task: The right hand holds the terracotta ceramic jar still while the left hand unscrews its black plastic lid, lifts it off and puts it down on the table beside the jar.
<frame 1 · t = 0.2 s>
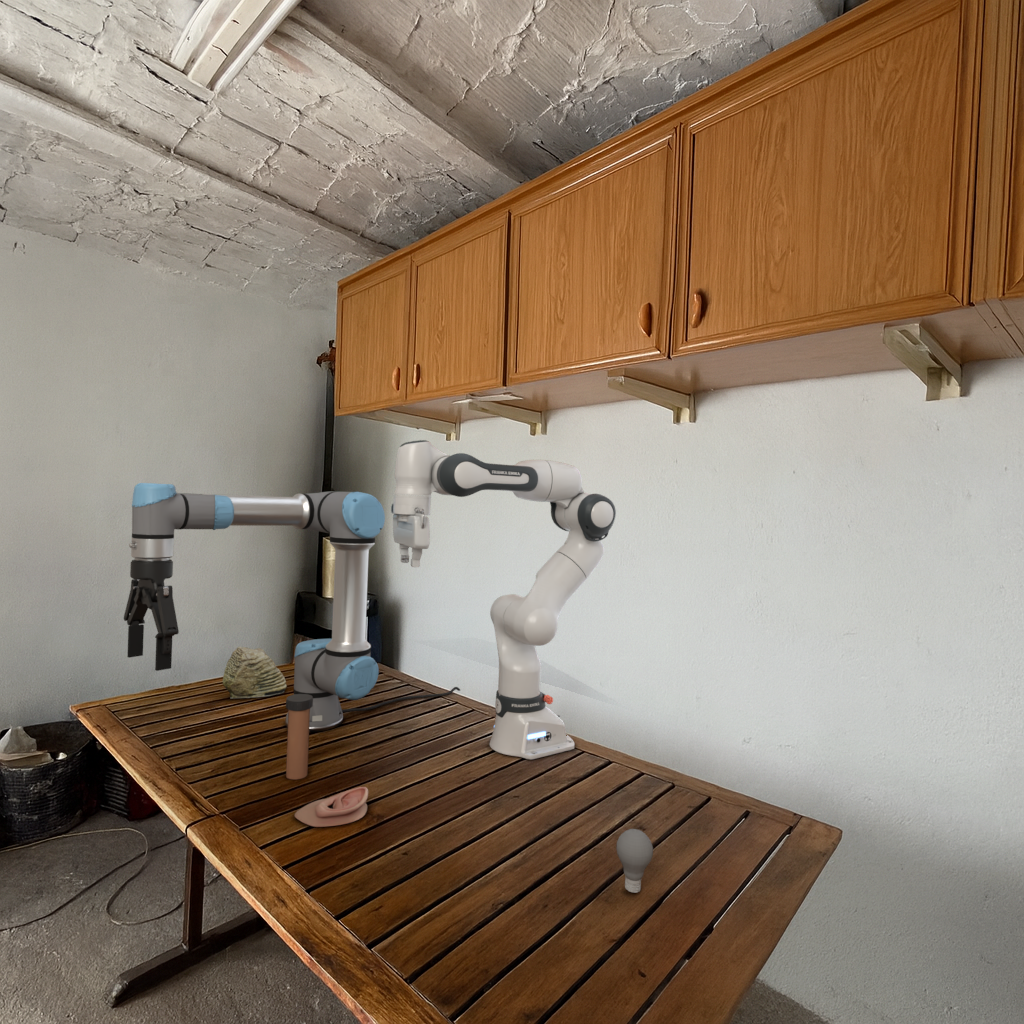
left hand: (148, 662, 129), 28 cm above the table, tool pointing down, fingers open, 13 cm apart
right hand: (409, 564, 153), 48 cm above the table, tool pointing down, fingers open, 8 cm apart
anatomical model: (331, 814, 127), on the table
jar: (296, 775, 144), on the table
fossil: (254, 694, 198), on the table
lid: (299, 699, 143), point 17 cm above the table, screwed on, not yet turned
light bulb: (632, 891, 106), on the table
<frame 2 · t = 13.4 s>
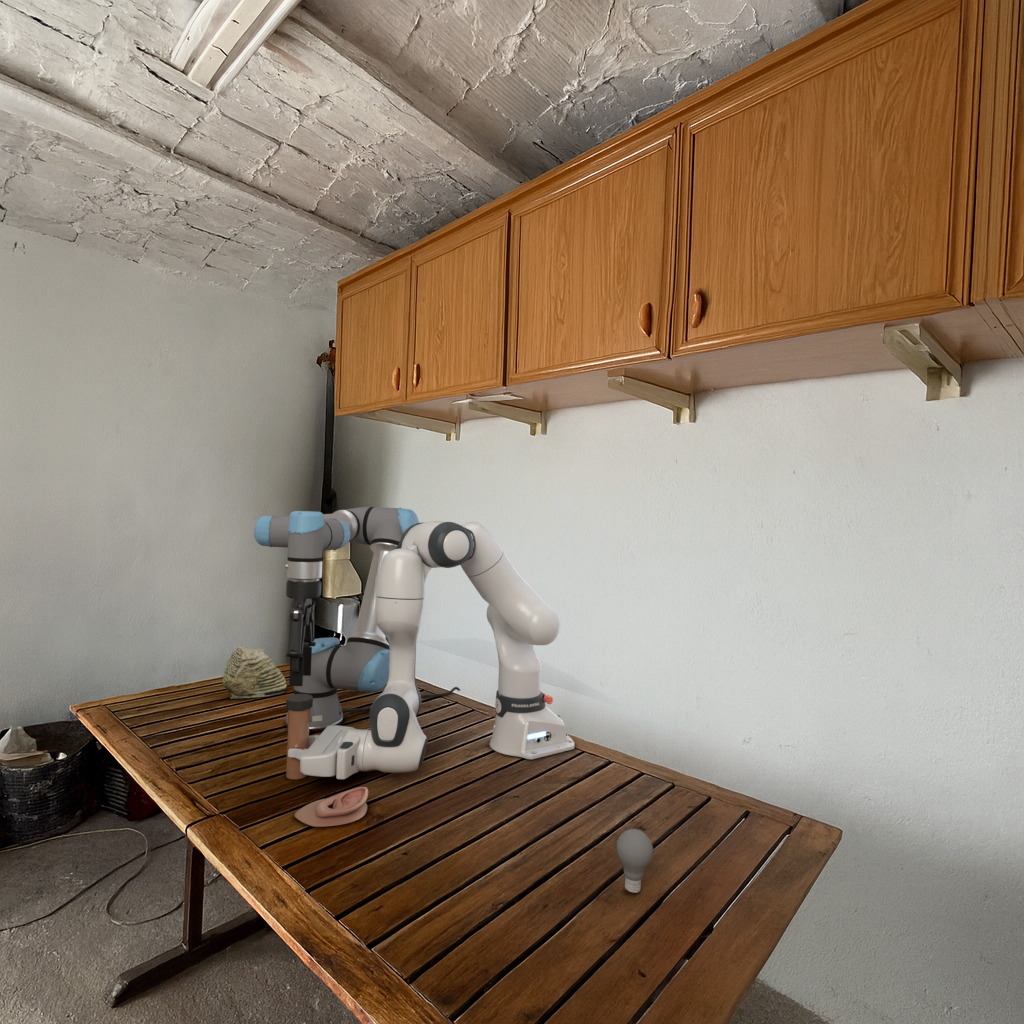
left hand: (300, 680, 143), 22 cm above the table, tool pointing down, fingers open, 7 cm apart
right hand: (293, 746, 143), 6 cm above the table, tool horizontal, fingers closed on jar, 5 cm apart
jar: (296, 774, 144), on the table, touching right hand
everything else where it was.
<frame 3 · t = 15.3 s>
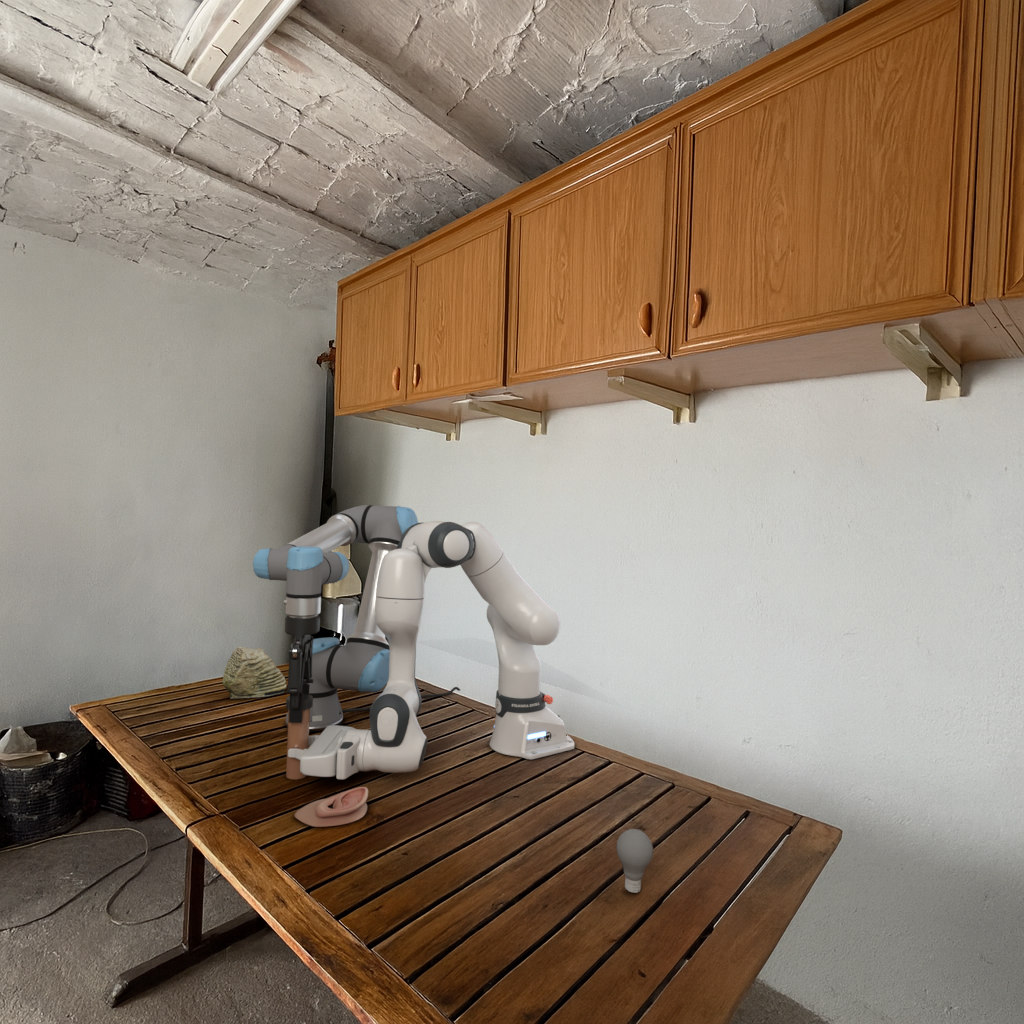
left hand: (298, 716, 143), 13 cm above the table, tool pointing down, fingers closed on lid, 6 cm apart
right hand: (293, 746, 143), 6 cm above the table, tool horizontal, fingers closed on jar, 5 cm apart
jar: (296, 774, 144), on the table, touching right hand
lid: (299, 699, 143), point 17 cm above the table, screwed on, not yet turned, touching left hand
everything else where it was.
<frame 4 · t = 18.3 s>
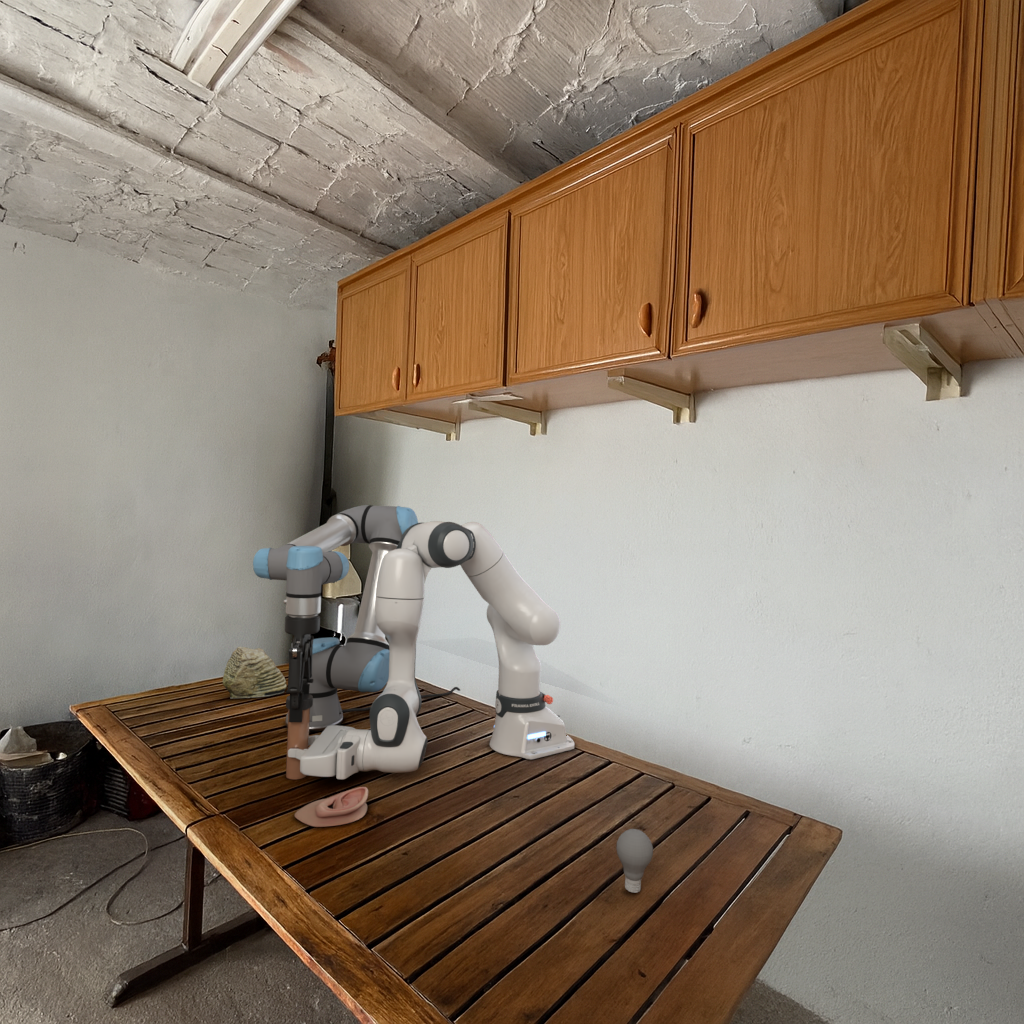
left hand: (299, 716, 143), 13 cm above the table, tool pointing down, fingers closed on lid, 6 cm apart
right hand: (293, 746, 143), 6 cm above the table, tool horizontal, fingers closed on jar, 5 cm apart
jar: (296, 774, 144), on the table, touching right hand
lid: (299, 698, 143), point 17 cm above the table, turned 77° so far, risen 0.1 cm, still on its thread, touching left hand
everything else where it was.
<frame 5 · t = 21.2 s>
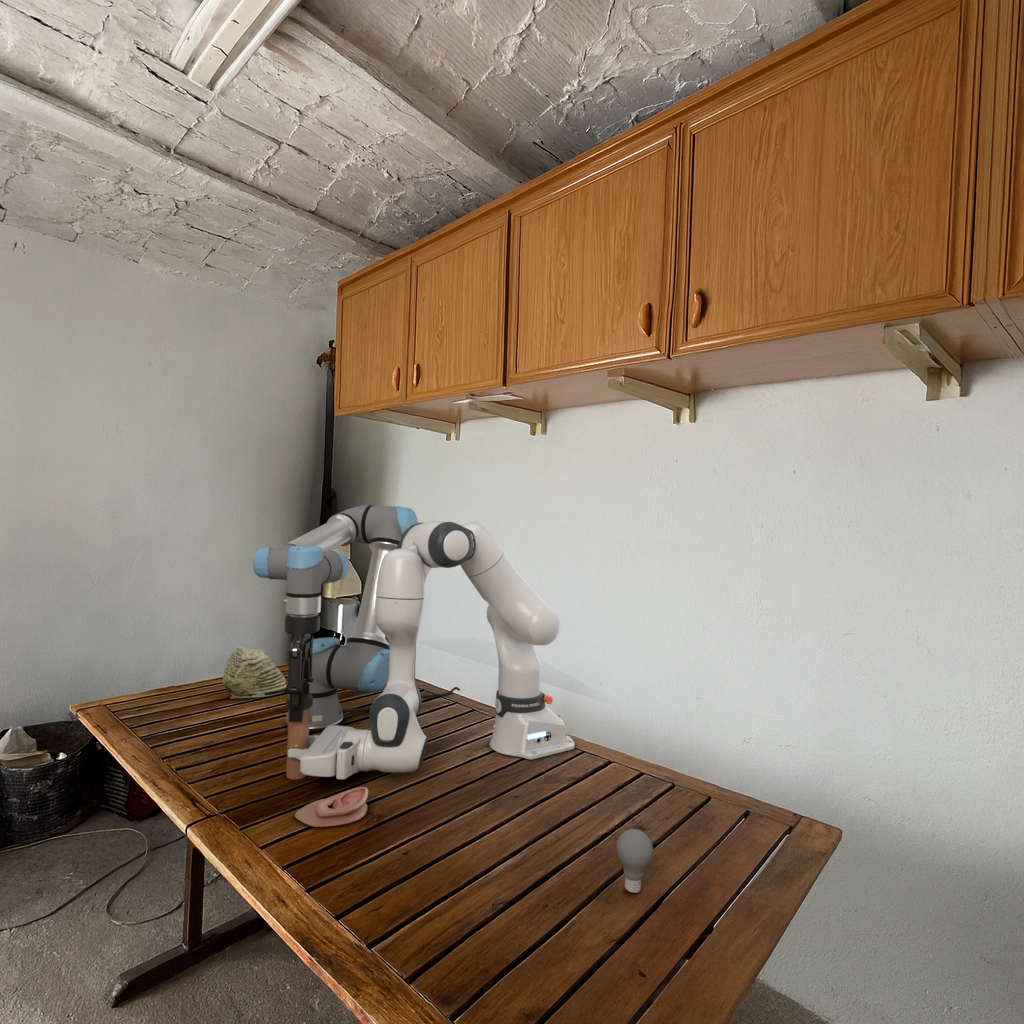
left hand: (299, 716, 143), 13 cm above the table, tool pointing down, fingers closed on lid, 6 cm apart
right hand: (293, 746, 143), 6 cm above the table, tool horizontal, fingers closed on jar, 5 cm apart
jar: (296, 774, 144), on the table, touching right hand
lid: (299, 698, 143), point 18 cm above the table, turned 153° so far, risen 0.2 cm, still on its thread, touching left hand
everything else where it was.
when the left hand's fingers open (0 cm above the table, at t = 33.5 s): lid drops 2 cm, point 2 cm above the table.
when the right hand's fingers open (6 cm above the table, at t = 34.2 s): jar stays where it is, on the table.
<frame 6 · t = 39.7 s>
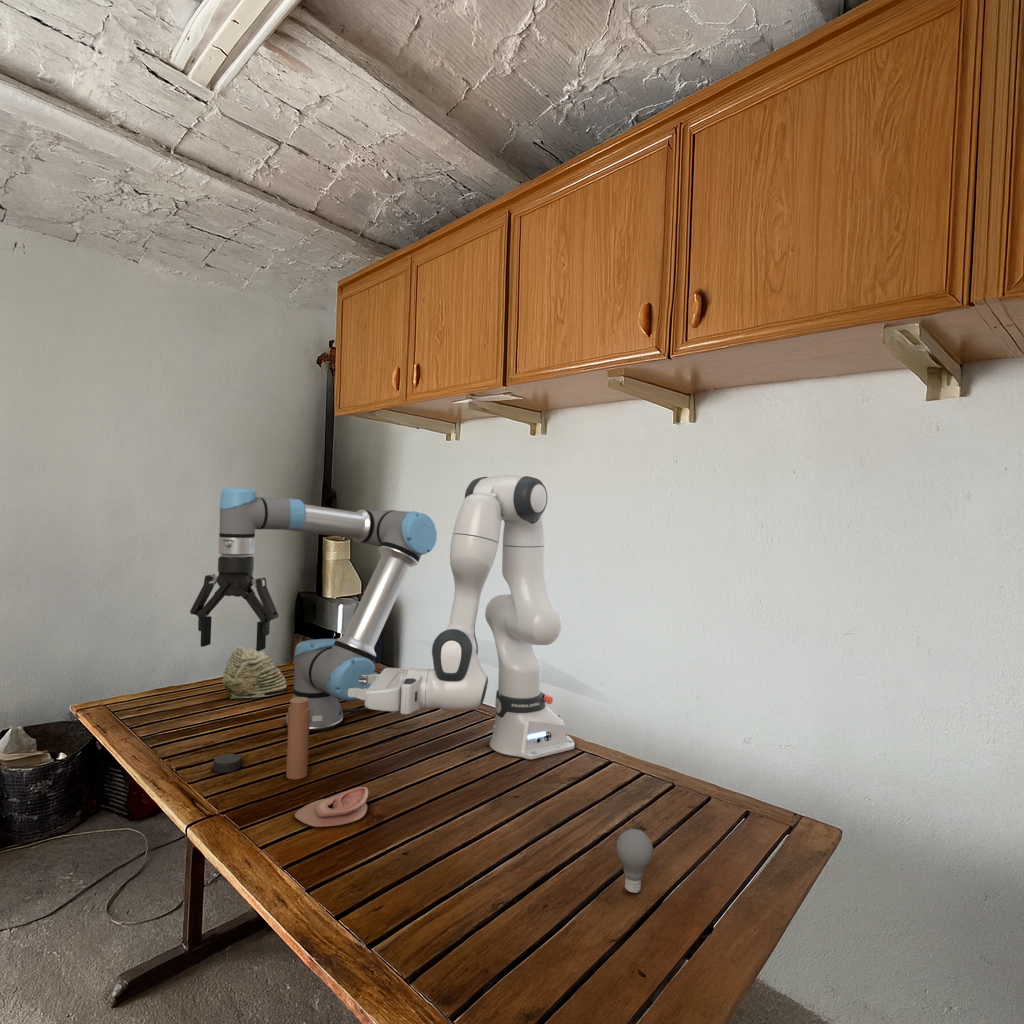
left hand: (233, 647, 146), 28 cm above the table, tool pointing down, fingers open, 13 cm apart
right hand: (354, 685, 143), 21 cm above the table, tool horizontal, fingers open, 8 cm apart
jar: (296, 774, 144), on the table
lid: (227, 760, 146), point 2 cm above the table, off its thread
everything else where it was.
at the end: lid came off its thread; lid point 1.7 cm above the table; the left hand is holding nothing; the right hand is holding nothing; jar tilted 0°; jar moved 0.0 cm from its start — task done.
